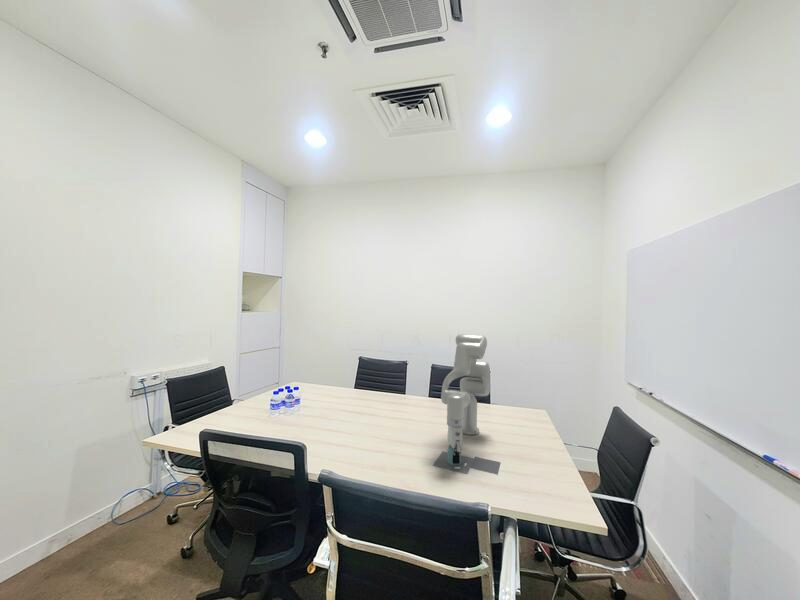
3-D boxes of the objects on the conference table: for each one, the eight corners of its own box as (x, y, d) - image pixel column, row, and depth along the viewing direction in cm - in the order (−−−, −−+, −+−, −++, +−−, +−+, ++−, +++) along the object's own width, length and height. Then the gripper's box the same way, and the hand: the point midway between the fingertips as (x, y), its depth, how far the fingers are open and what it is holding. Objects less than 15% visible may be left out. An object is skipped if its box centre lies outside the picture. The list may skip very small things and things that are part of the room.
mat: (475, 457, 152) (475, 456, 152) (500, 463, 147) (500, 462, 147) (470, 469, 141) (470, 467, 141) (497, 475, 136) (497, 474, 136)
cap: (446, 458, 149) (446, 445, 149) (458, 458, 150) (458, 445, 150) (449, 465, 143) (449, 451, 143) (462, 464, 144) (462, 451, 144)
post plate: (442, 452, 157) (442, 442, 157) (474, 459, 150) (474, 449, 151) (432, 466, 142) (432, 456, 143) (467, 475, 136) (467, 464, 136)
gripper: (468, 428, 139) (467, 469, 138) (457, 414, 156) (456, 450, 156) (451, 428, 138) (451, 469, 138) (442, 414, 155) (442, 451, 155)
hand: (454, 459), depth 147 cm, fingers closed on cap, 6 cm apart
